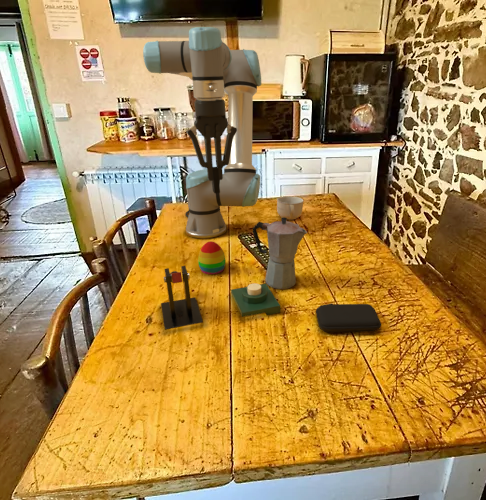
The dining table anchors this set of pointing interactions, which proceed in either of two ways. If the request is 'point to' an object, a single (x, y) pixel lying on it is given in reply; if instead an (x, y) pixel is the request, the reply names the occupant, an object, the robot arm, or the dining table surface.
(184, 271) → the switch bracket
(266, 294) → the control block
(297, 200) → the teacup
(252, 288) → the button
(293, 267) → the moka pot
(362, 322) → the carrying case
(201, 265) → the decorative egg
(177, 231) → the dining table surface
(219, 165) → the robot arm
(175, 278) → the switch lever
